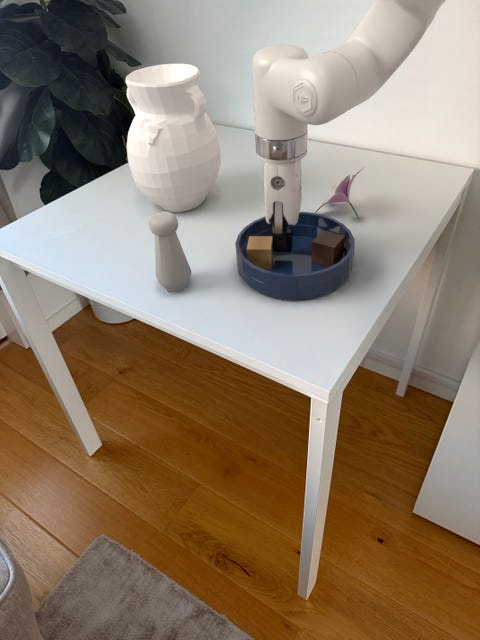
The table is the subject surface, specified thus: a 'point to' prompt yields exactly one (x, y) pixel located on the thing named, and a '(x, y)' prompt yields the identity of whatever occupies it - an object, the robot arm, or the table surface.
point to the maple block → (260, 251)
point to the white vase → (171, 137)
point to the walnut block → (327, 248)
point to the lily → (342, 192)
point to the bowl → (296, 260)
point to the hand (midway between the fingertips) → (282, 249)
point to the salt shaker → (169, 253)
